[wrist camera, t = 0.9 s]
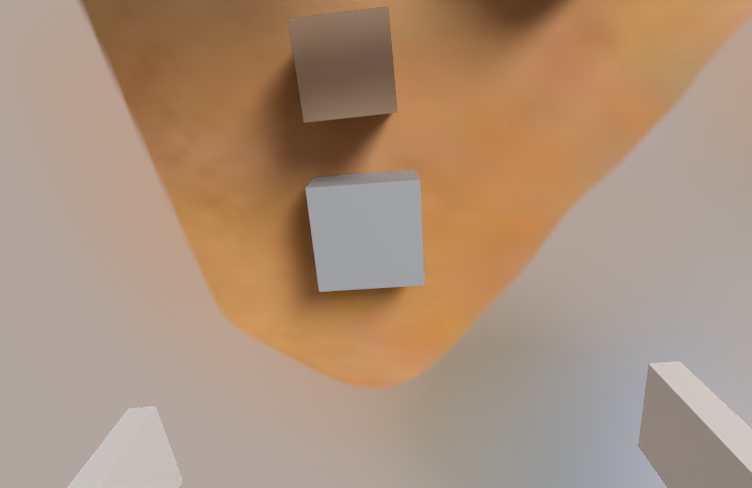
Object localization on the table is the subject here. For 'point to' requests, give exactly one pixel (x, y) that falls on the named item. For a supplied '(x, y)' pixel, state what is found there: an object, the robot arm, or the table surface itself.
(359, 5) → the table surface
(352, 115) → the walnut block
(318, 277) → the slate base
